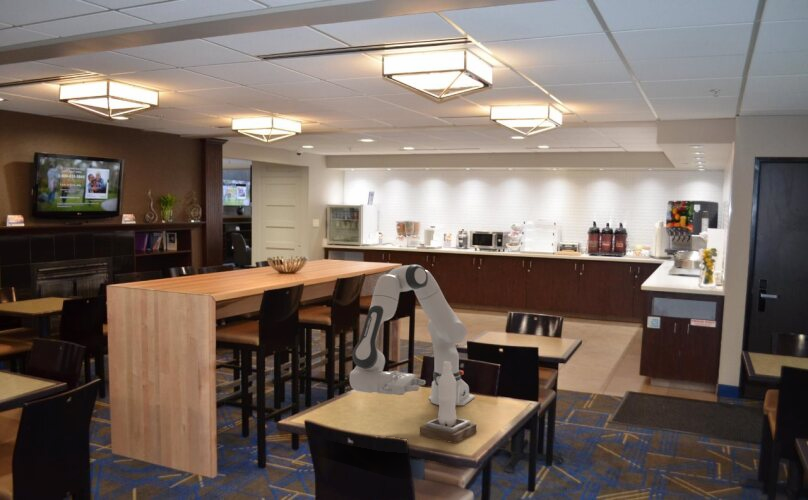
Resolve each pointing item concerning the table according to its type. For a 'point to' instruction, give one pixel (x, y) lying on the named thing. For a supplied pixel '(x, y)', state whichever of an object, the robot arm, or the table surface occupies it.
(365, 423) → the table surface
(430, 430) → the display stand
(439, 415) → the water bottle
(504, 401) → the table surface
